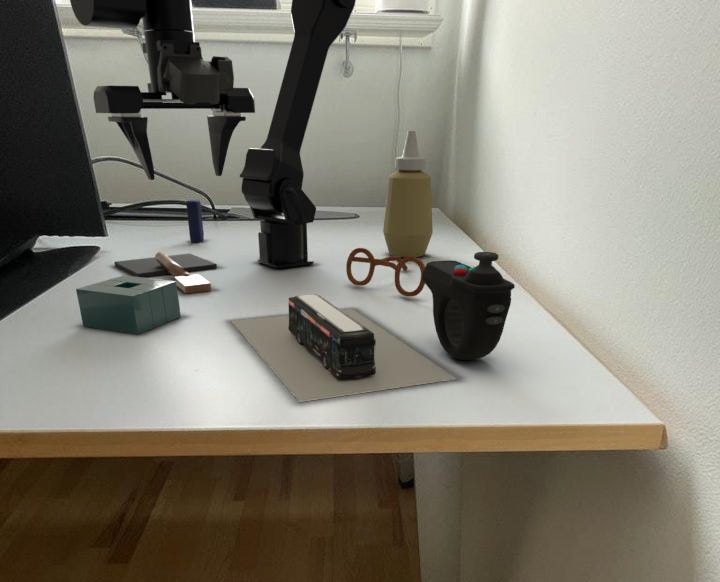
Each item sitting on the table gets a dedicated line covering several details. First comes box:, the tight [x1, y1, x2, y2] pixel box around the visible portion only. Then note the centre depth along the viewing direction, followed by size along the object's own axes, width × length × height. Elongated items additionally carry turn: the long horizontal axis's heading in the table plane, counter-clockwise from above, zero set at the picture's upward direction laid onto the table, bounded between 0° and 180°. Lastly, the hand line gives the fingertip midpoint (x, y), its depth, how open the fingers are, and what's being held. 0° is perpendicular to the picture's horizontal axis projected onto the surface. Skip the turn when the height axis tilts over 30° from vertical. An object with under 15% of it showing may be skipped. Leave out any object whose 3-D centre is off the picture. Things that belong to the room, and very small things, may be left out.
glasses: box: [345, 247, 426, 297], centre depth 88 cm, size 13×13×5 cm
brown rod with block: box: [154, 251, 212, 295], centre depth 91 cm, size 3×2×17 cm
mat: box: [114, 253, 218, 278], centre depth 99 cm, size 12×10×1 cm
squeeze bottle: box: [382, 130, 434, 259], centre depth 104 cm, size 8×8×18 cm
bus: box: [230, 293, 457, 403], centre depth 65 cm, size 14×25×4 cm, turn 22°
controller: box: [422, 251, 516, 361], centre depth 62 cm, size 4×12×10 cm, turn 19°
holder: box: [75, 275, 182, 335], centre depth 72 cm, size 7×7×4 cm
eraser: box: [185, 199, 205, 243], centre depth 116 cm, size 2×2×7 cm
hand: (186, 177), depth 85 cm, fingers open, 9 cm apart
